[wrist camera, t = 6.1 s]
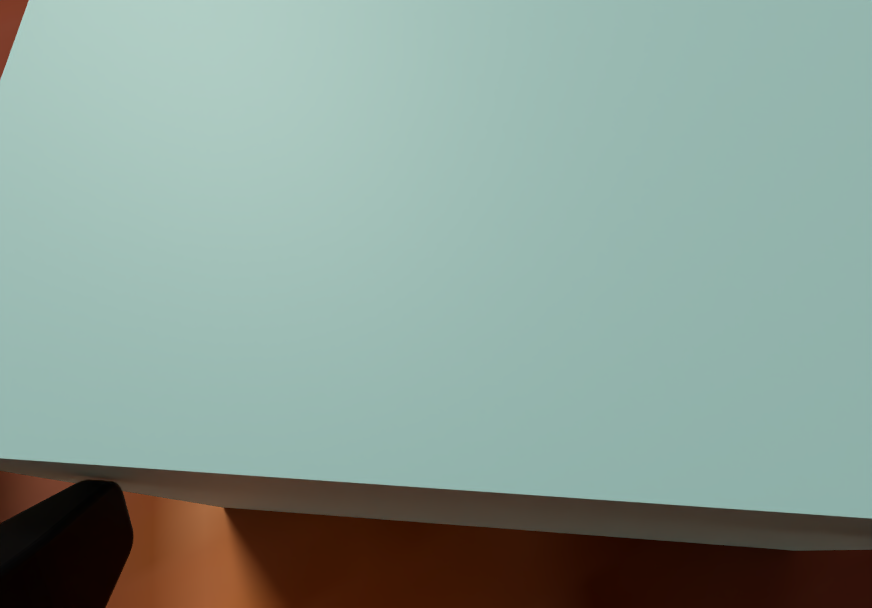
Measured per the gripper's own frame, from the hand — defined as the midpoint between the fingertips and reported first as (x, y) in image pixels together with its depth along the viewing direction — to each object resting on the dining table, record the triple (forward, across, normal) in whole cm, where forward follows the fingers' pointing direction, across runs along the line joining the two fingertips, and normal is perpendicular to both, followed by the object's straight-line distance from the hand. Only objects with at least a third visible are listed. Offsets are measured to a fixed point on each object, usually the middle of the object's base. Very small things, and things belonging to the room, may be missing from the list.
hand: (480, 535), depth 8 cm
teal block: (+8, 0, +1) cm, 9 cm away
